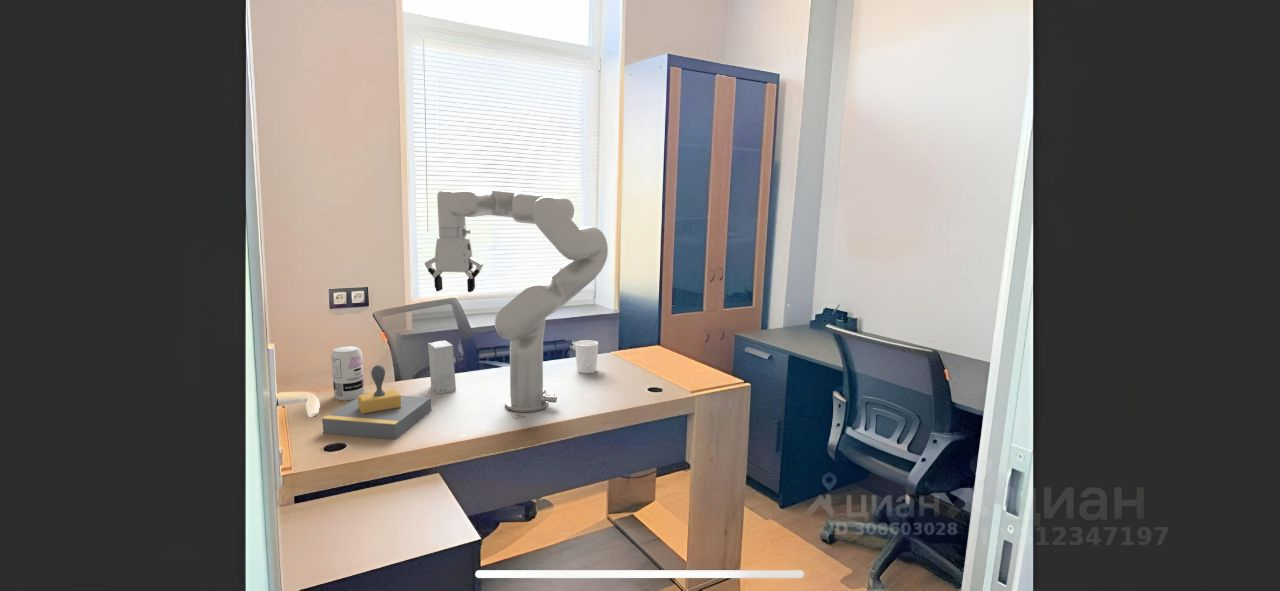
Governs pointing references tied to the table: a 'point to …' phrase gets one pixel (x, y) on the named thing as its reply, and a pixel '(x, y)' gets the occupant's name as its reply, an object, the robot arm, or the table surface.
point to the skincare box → (442, 366)
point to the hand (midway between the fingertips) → (455, 290)
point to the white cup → (586, 356)
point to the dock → (377, 419)
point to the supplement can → (347, 372)
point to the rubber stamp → (379, 395)
